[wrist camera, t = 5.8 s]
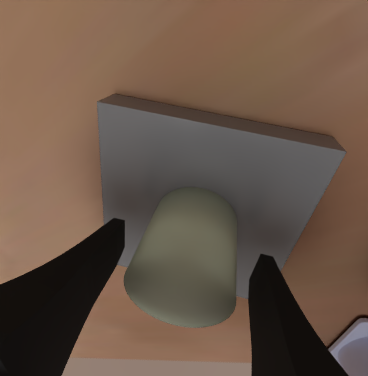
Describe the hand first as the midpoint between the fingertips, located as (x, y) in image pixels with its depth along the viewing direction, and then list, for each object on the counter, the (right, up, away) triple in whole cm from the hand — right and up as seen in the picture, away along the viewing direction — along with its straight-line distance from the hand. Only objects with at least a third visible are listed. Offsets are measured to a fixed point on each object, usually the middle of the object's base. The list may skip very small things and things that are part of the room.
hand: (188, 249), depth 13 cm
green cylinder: (0, +1, +2) cm, 2 cm away
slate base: (+1, +2, +4) cm, 4 cm away
